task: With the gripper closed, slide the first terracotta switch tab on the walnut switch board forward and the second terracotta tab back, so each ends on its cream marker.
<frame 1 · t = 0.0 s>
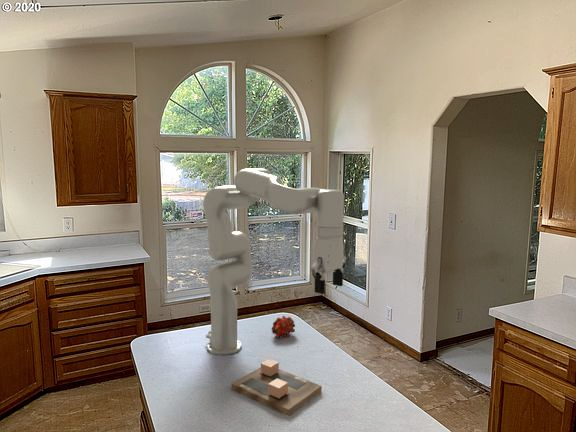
hand: (328, 289, 128), 31 cm above the kitchen island, tool pointing down, fingers open, 9 cm apart
switch board: (276, 390, 130), on the kitchen island
tab one: (269, 367, 137), point 4 cm above the kitchen island, slide at 0.0 cm
dragon fruit: (282, 336, 171), on the kitchen island
tab two: (278, 388, 124), point 4 cm above the kitchen island, slide at 10.0 cm
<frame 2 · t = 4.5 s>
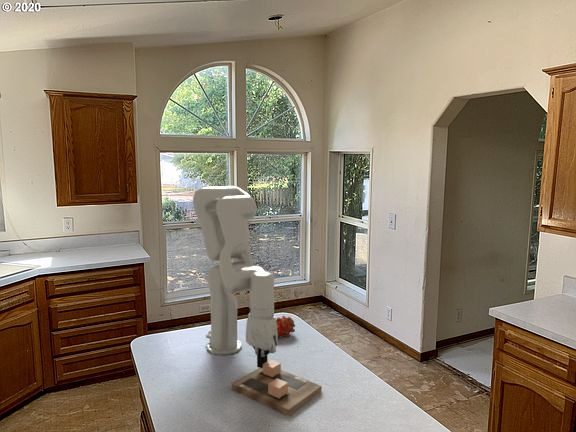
hand: (262, 366, 139), 3 cm above the kitchen island, tool pointing down, fingers closed
tab one: (271, 368, 136), point 4 cm above the kitchen island, slide at 0.8 cm, touching gripper
everything else where it was.
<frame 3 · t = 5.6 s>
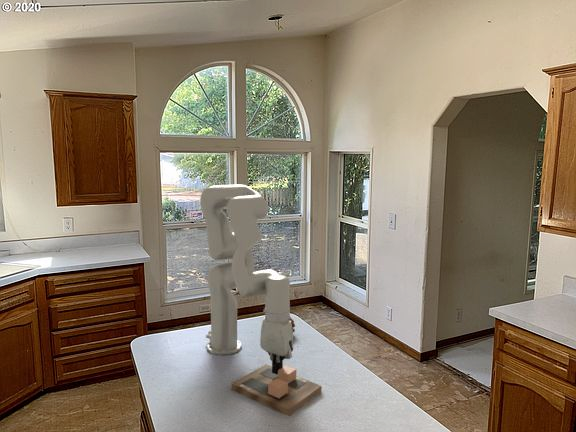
hand: (277, 372, 135), 3 cm above the kitchen island, tool pointing down, fingers closed
tab one: (287, 374, 132), point 4 cm above the kitchen island, slide at 7.0 cm, touching gripper
everything else where it was.
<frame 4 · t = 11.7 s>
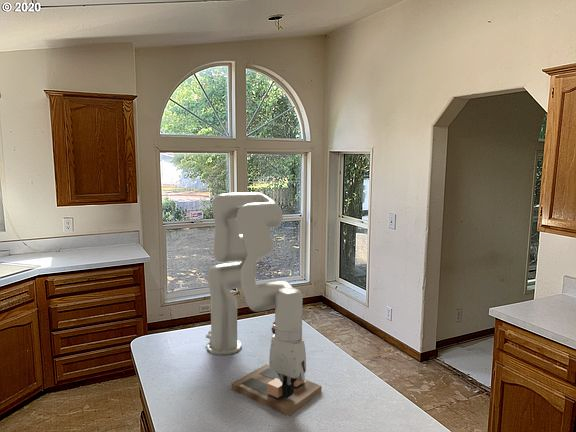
hand: (287, 395, 122), 3 cm above the kitchen island, tool pointing down, fingers closed
tab one: (295, 377, 130), point 4 cm above the kitchen island, slide at 10.1 cm
tab two: (277, 387, 125), point 4 cm above the kitchen island, slide at 9.6 cm, touching gripper
everything else where it was.
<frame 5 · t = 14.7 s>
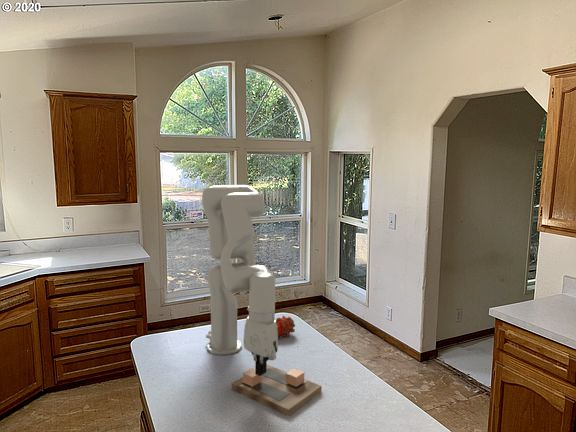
hand: (260, 373, 129), 6 cm above the kitchen island, tool pointing down, fingers closed
tab two: (252, 377, 130), point 4 cm above the kitchen island, slide at -0.1 cm
everything else where it was.
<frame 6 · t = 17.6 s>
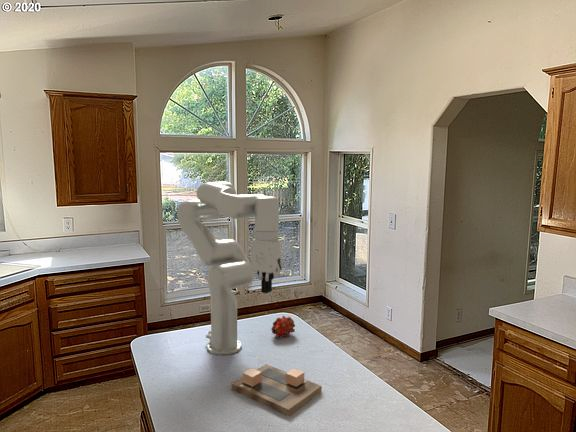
hand: (266, 291, 138), 27 cm above the kitchen island, tool pointing down, fingers closed
nothing on the kitchen island moved.
at the end: tab one slide at 10.1 cm; tab two slide at -0.1 cm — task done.
